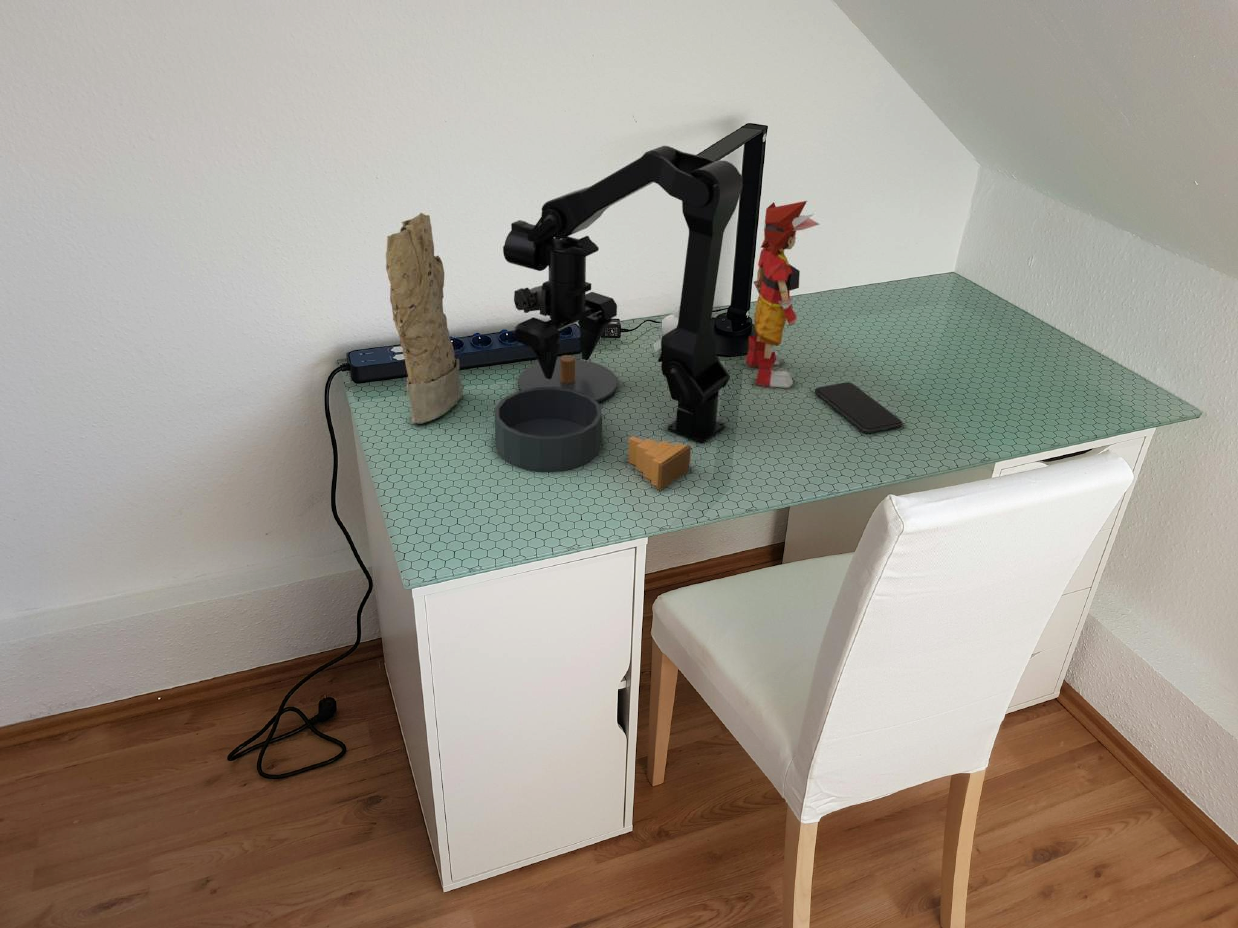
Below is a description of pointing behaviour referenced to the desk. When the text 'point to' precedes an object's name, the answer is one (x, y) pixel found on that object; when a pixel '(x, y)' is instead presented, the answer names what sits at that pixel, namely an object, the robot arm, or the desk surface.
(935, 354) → the desk surface
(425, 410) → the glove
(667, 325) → the figurine
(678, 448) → the tan stepped block
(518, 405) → the pan
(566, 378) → the pan lid
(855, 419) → the smartphone
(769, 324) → the toy
